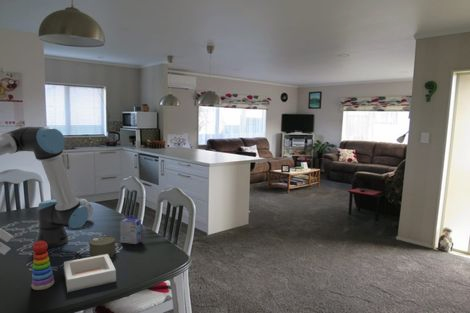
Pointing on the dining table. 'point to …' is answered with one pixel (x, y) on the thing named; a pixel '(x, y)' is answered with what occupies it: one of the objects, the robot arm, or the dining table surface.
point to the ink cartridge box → (130, 230)
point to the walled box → (89, 272)
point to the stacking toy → (41, 267)
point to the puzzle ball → (88, 205)
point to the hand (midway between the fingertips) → (8, 245)
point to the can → (102, 246)
